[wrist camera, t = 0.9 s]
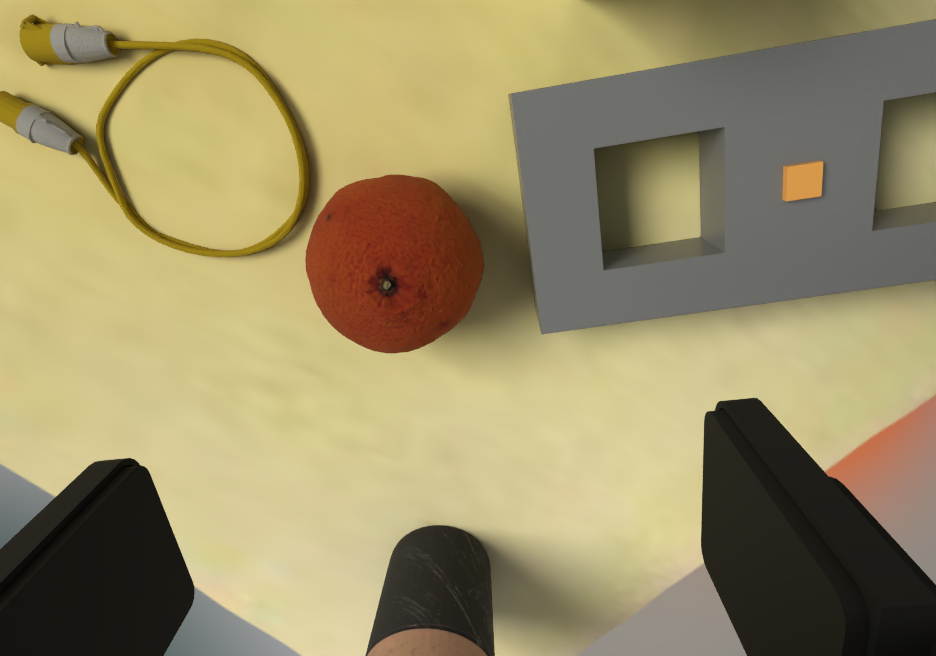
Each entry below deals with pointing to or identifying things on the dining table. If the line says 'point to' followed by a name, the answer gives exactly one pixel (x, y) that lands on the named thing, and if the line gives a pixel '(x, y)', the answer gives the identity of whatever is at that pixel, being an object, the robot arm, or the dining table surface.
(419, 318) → the fruit
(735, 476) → the robot arm
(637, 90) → the socket block
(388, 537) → the dining table surface
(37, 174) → the dining table surface
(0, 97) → the extension cord
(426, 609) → the travel mug
